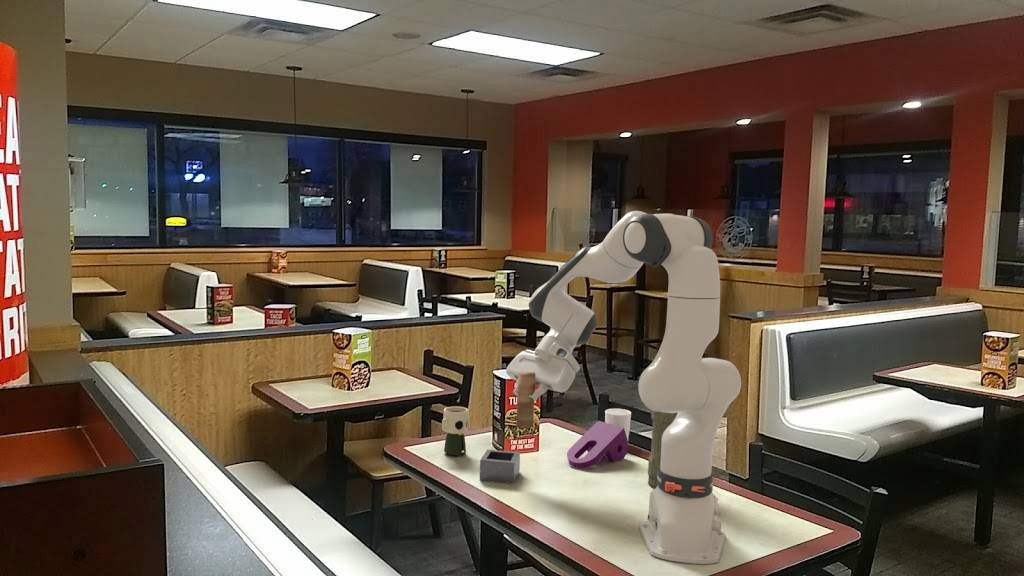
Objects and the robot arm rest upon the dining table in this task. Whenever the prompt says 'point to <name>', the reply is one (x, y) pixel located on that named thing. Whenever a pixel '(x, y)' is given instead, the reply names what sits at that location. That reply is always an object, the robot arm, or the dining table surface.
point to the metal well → (500, 466)
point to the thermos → (657, 443)
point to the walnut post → (525, 399)
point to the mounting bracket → (599, 445)
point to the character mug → (455, 429)
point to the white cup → (619, 418)
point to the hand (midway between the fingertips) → (524, 396)
